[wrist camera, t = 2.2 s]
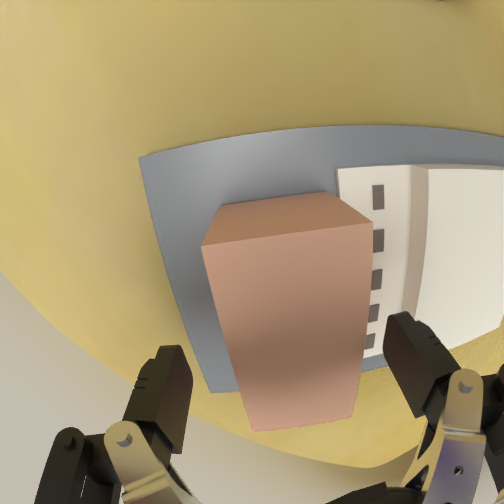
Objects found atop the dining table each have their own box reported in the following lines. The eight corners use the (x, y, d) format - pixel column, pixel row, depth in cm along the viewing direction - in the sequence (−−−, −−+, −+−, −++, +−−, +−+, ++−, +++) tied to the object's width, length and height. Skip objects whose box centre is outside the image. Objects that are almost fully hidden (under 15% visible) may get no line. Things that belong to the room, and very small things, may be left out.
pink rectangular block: (328, 191, 12) (373, 222, 7) (331, 353, 16) (351, 416, 11) (219, 205, 12) (200, 246, 8) (252, 365, 16) (253, 431, 11)
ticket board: (507, 138, 11) (535, 143, 8) (480, 322, 17) (497, 341, 14) (146, 156, 12) (120, 161, 10) (212, 383, 19) (207, 414, 16)
